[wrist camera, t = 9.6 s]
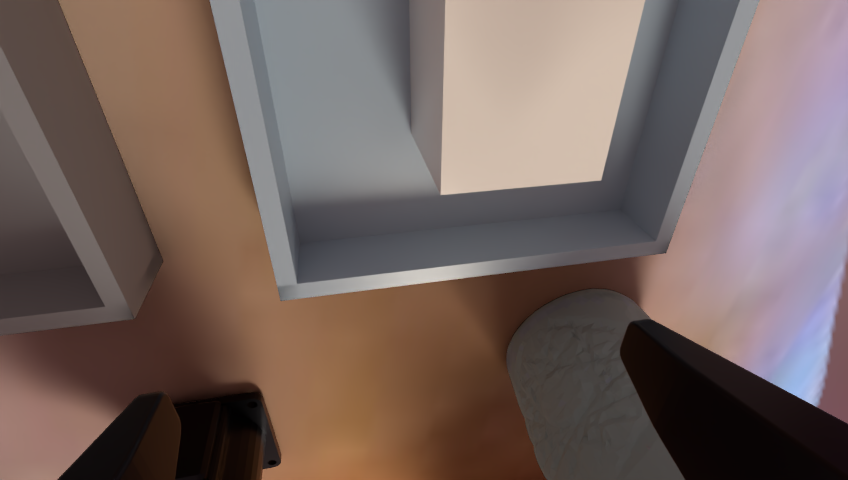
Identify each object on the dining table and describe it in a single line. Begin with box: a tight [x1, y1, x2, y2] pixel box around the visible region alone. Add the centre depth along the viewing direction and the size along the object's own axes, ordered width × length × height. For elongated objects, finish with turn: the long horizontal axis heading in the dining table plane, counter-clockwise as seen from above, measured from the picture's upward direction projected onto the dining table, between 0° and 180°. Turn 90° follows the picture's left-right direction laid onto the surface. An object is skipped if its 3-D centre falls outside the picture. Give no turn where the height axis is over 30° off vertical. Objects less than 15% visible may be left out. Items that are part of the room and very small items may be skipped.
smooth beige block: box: [409, 0, 645, 195], centre depth 14 cm, size 5×5×5 cm
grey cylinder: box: [506, 289, 685, 480], centre depth 22 cm, size 10×10×12 cm
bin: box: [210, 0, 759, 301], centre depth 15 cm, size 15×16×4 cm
